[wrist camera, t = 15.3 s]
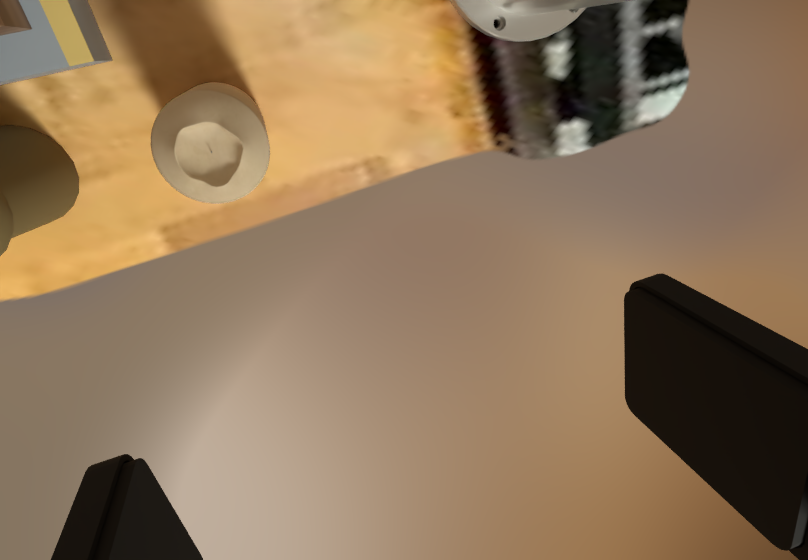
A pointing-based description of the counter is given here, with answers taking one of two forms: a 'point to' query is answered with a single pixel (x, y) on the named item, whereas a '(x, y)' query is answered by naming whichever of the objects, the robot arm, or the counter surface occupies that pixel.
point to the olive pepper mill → (32, 182)
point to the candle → (211, 143)
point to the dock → (52, 41)
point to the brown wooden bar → (12, 17)
